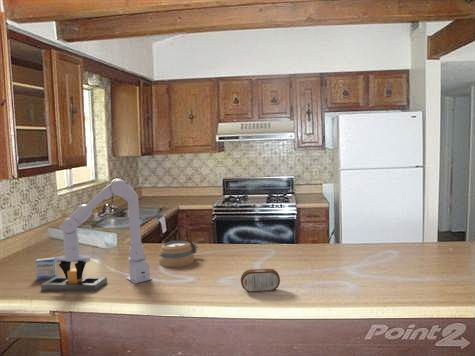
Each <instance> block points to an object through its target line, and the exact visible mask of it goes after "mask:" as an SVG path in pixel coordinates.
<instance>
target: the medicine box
mask: <svg viewBox="0 0 475 356" xmlns="http://www.w3.org/2000/svg"><path fill="white" fill-rule="evenodd" d="M56 257H57V256H54V257H44V258H43V257H42V258H38V259H36V260H35V270H36V280H37V281H40V280H41V281H42V280H50V279H52V278H53V277H58V268H57V262H55V258H56Z"/></svg>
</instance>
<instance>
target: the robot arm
mask: <svg viewBox="0 0 475 356" xmlns="http://www.w3.org/2000/svg"><path fill="white" fill-rule="evenodd" d="M114 195H115V196H117V197H120V198H122V199H123V200H124V201H126V202H127V209H128V212H127V213H128V221H129V222H128V223H129V239H130V240H129V241H130V244H129V246H128V250H129V251H128V256H129V257H128V271H129V276H126V279H127V280H128V281H130V282H132V283H133V284H138V283H143V282H147V281H151V280H152V279H153V277H151V273H150V265H149V263H148V261H147V258H146V257H147V256H146V255H145V246H144V244H143V243H142V234H141V221H140V206H139V196H138V194H137V192H136V191H135V190H134V188H133V187H132V186H131V185H130V183H129V182H127V181H126V180H124V179H123V178H117V179H114V180H113V181H112V183H109V184H108V185H106V186H105V187H104V188H102V190H100V191H99V192H98V193H97V194H96V195H95V196H94V197H93V198H92V199H91V200H90V201H89V202H88V203H87V204H81V205H78V206H76V209H75V210H74V211H73V212H72V213H71V214H68V215H67V218H65V219H64V220H63V221H62V223H61V226H60V227H61V231H62V234H63V237H62V238H63V239H62V240H63V251H64V255H62V256H61V255H60V256H55V257H56V258H55V262H56V263H59V262H60V263H59V264H58V266H59V267H60V268H61V270H62V272H63V273H64V277H66V279H68V275H67V271H69V270H70V269H71V265H72V264H71V263H74V262H75V263H74V268H76V270H77V278H78V279H81V278H82V277H83V272H84V270H85V267H86V265H87V263H89V262H90V261H91V256H87V255H81V254H80V245H79V244H80V243H79V235H78V228H79V227H78V226H81V225H82V224H83V223H84V222H85V221H86V220H88V219H89V218H90V217H91V216H92V214H93V209H95V208H96V207H97V206H98V205H100V204H101V202H103V201H104V200H105V199H106V198H110V197H113V196H114Z"/></svg>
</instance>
